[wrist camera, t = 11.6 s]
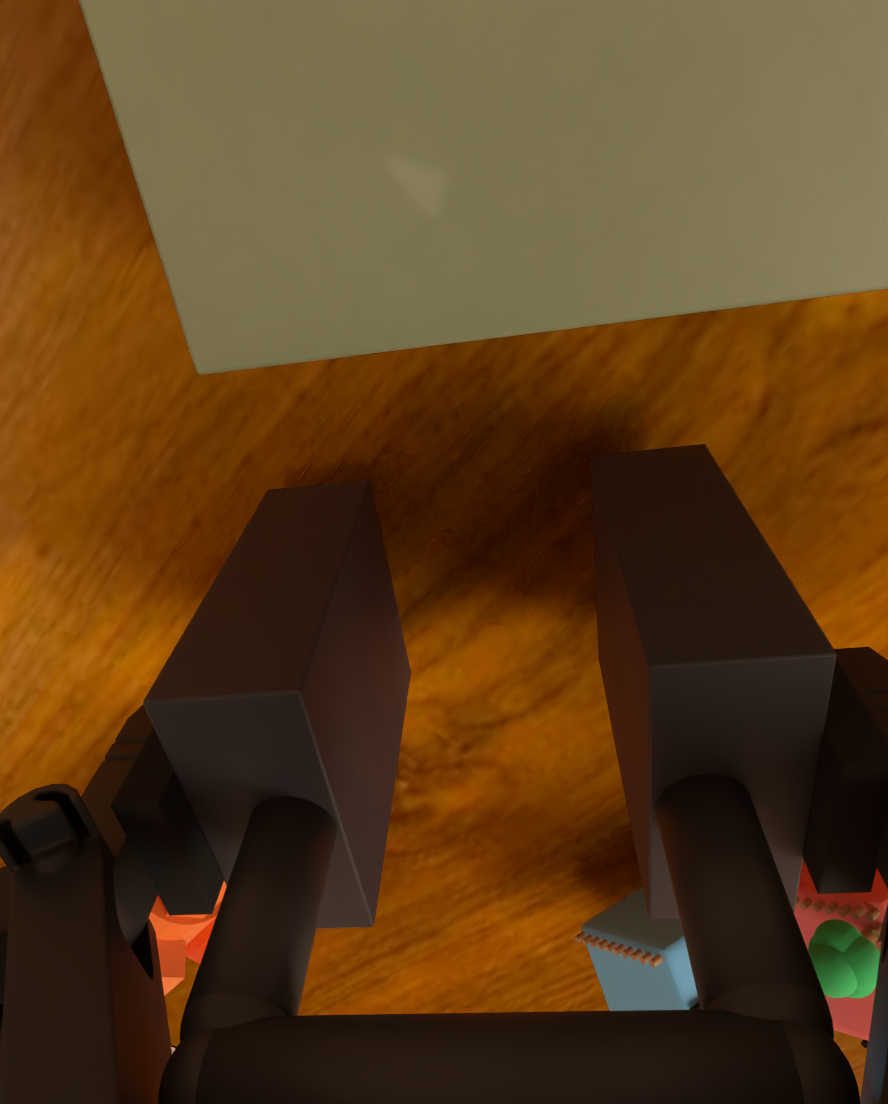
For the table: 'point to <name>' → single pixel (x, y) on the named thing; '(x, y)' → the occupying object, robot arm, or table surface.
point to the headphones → (368, 783)
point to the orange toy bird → (180, 939)
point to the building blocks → (665, 971)
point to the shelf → (494, 163)
